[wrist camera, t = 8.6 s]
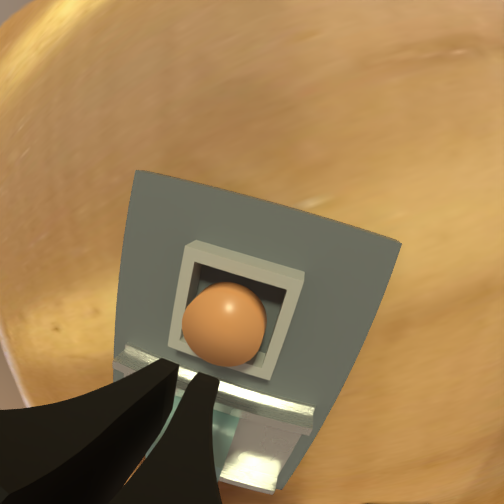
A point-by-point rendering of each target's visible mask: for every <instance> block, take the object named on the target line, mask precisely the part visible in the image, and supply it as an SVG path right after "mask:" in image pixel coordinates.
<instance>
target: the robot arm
mask: <svg viewBox="0 0 504 504" xmlns="http://www.w3.org/2000/svg"><path fill="white" fill-rule="evenodd" d="M179 366H180V365H179V364H177V363H174V362H172V361H169V360H166V359H164V358H160V359H158V360H156V361H154V362H153V363H151V364H149V365H147V366H145V367H143V368H142V369H140V370H138V371H136V372H134V373H132V374H130V375H128V376H126V377H124V378H122V379H120V380H118V381H116V382H113V383H111V384H109V385H107V386H104V387H102V388H99V389H97V390H94V391H92V392H89V393H87V394H84V395H81V396H78V397H75V398H72V399H68V400H65V401H61V402H57V403H53V404H48V405H42V406H36V407H30V408H23V409H11V410H0V504H222V501H221V497H220V493H219V488H218V483H217V477H216V471H215V463H214V454H213V435H212V428H213V408H214V404H215V400H216V396H217V393H218V389H219V385H220V381H219V380H218V378H215V377H213V376H210V375H207V374H204V373H201V372H198V373H197V374H196V375H195V376H194V377H193V379H192V380H191V381H190V383H189V384H188V386H187V388H186V390H185V392H184V394H183V396H182V398H181V400H180V402H179V404H178V406H177V408H176V410H175V412H174V414H173V416H172V418H171V420H170V422H169V424H168V427H167V428H166V430H165V432H164V434H163V435H162V437H161V438H160V440H159V441H158V443H157V444H156V445H155V447H154V448H153V450H152V451H151V452H150V454H149V455H148V456H147V458H146V459H145V460H144V462H143V463H142V464H141V466H140V467H139V468H138V469H137V471H136V472H135V473H134V474H133V476H132V477H131V478H130V479H129V481H128V482H127V483H126V481H127V479H128V478H129V477H130V475H131V474H132V472H133V471H134V470H135V468H136V467H137V465H138V464H139V463H140V461H141V460H142V458H143V457H144V456H145V454H146V453H147V451H148V450H149V449H150V447H151V446H152V444H153V443H154V441H155V440H156V439H157V437H158V436H159V434H160V433H161V431H162V429H163V427H164V425H165V423H166V421H167V419H168V417H169V415H170V413H171V411H172V409H173V403H174V397H175V390H176V384H177V378H178V372H179ZM125 483H126V484H125ZM124 484H125V485H124Z"/></svg>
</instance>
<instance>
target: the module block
mask: <svg viewBox="0 0 504 504" xmlns="http://www.w3.org/2000/svg"><path fill="white" fill-rule="evenodd" d="M180 400H181V397H178V396H176V395H175V397H174V403H173V409H172V411H171V413H170V415H169V417H168V419H167V421H166V423H165V425H164V427H163V429H162V431H161V433H160V434H159V436H158V437H157V439H156V440H155V441H154V443H153V444H152V446H151V447H150V449H149V450H148V451H147V453H146V458H147V456H148V455H149V454H150V452H151V451H152V450H153V448H154V447H155V445H156V444H157V443H158V441H159V440H160V438H161V437H162V435H163V434H164V432H165V430H166V428H167V427H168V424H169V422H170V420H171V418H172V416H173V414H174V412H175V410H176V408H177V406H178V404H179V402H180ZM239 419H240V418H239V417H236V416H233V415H229V414H226V413H223V412H220V411H217V410H214V409H213V428H212V435H213V454H214V463H215V471H216V477H217V483H218V480H219V477H220V474H221V472H222V469H223V466H224V463H225V460H226V457H227V454H228V451H229V448H230V446H231V443H232V440H233V437H234V434H235V431H236V428H237V425H238V422H239Z"/></svg>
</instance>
